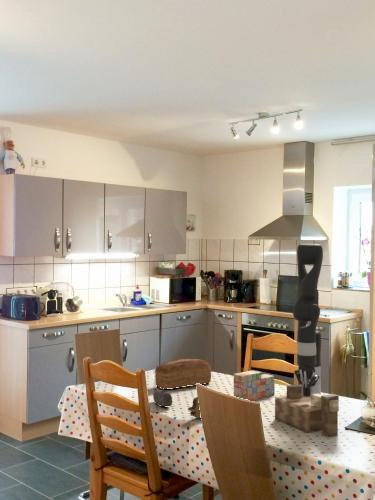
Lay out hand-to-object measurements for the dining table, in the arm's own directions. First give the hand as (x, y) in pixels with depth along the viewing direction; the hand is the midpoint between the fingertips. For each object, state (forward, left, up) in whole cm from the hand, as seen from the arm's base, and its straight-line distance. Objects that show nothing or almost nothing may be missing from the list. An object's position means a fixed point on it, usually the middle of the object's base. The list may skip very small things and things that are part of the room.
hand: (306, 396), depth 223 cm
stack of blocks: (-46, +7, -12) cm, 48 cm away
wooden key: (+10, 0, -2) cm, 10 cm away
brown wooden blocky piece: (+1, 0, -12) cm, 12 cm away
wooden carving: (-30, -31, -12) cm, 45 cm away
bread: (-82, -12, -12) cm, 84 cm away
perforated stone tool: (-55, -38, -12) cm, 68 cm away
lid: (-3, 0, -4) cm, 5 cm away
